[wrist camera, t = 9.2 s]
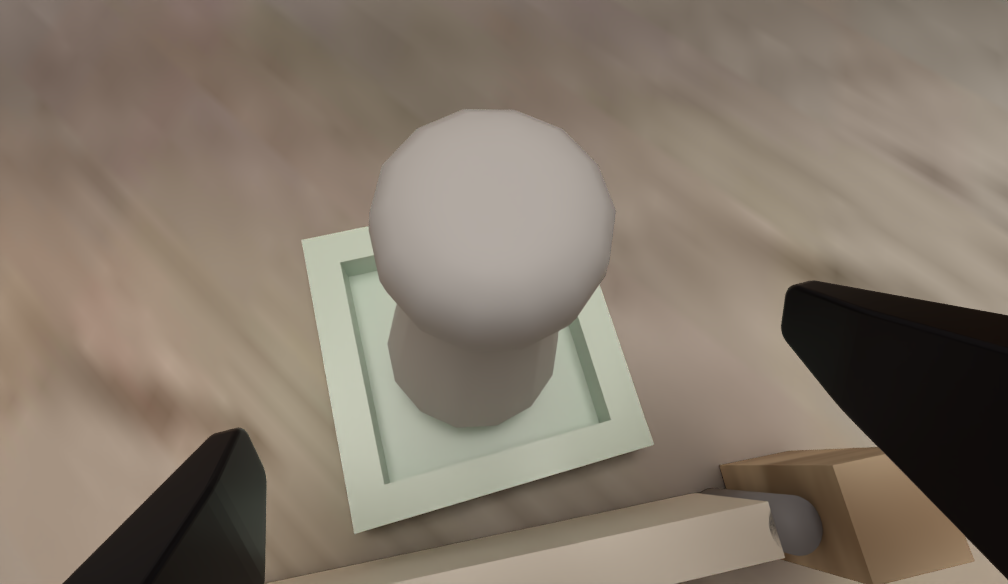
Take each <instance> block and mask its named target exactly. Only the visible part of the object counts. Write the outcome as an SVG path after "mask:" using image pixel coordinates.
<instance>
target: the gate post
mask: <svg viewBox="0 0 1008 584" xmlns="http://www.w3.org/2000/svg"><path fill="white" fill-rule="evenodd" d="M720 469H721V472H722V476H723V479H724V483H725V486H726V489H730V490H741V491H752V492H764V493H775V494H786V495H796V496H799V497H802V498H804V499H806V500H807V501H809V502H810V503H811V504H812V505H813V506H814V507H815V509H816V510H817V512H818V514H819V516H820V518H821V522H822V527H823V534H822V539H821V542H820V544H819V546H818V547H817V548H816V549H815V550H814V551H813V552H812V553H810V554H808V555H804V556H796V555H792V554H788V553H784V556H785V558H783V559H781V560H785V561H788V562H792V563H795V564H799V565H802V566H806V567H809V568H813V569H816V570H819V571H823V572H826V573H830V574H833V575H837V576H840V577H844V578H847V579H851V580H854V581H858V582H861V583H864V584H885V583H889V582H893V581H897V580H901V579H905V578H909V577H913V576H917V575H921V574H925V573H929V572H934V571H938V570H942V569H946V568H950V567H954V566H958V565H962V564H966V563H970V562H974V558H973V556H972V553H971V551H970V548H969V546H968V543H967V540H966V538H965V535H964V534H963V533H962V532H961V531H960V530H959V529H958V528H957V527H956V526H955V525H954V524H953V523H952V522H951V521H950V520H949V519H948V518H947V517H946V516H945V515H944V514H943V513H942V512H941V511H940V510H939V509H938V508H937V507H936V506H935V505H934V504H933V503H932V502H931V501H930V500H929V499H928V498H927V497H926V496H925V495H924V494H923V492H922V491H921V490H920V489H919V488H918V487H917V486H916V485H915V484H914V483H913V482H912V481H911V480H910V479H909V478H908V477H907V476H906V475H905V474H904V473H903V472H902V471H901V470H900V469H899V468H898V467H897V466H896V465H895V464H894V463H893V462H892V461H891V460H890V459H889V458H888V457H887V456H886V455H885V454H884V453H883V452H882V451H881V449H880V448H879V447H870V448H847V449H823V450H799V451H787V452H782V453H777V454H772V455H767V456H762V457H757V458H752V459H748V460H743V461H738V462H733V463H728V464H723V465H720Z"/></svg>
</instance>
